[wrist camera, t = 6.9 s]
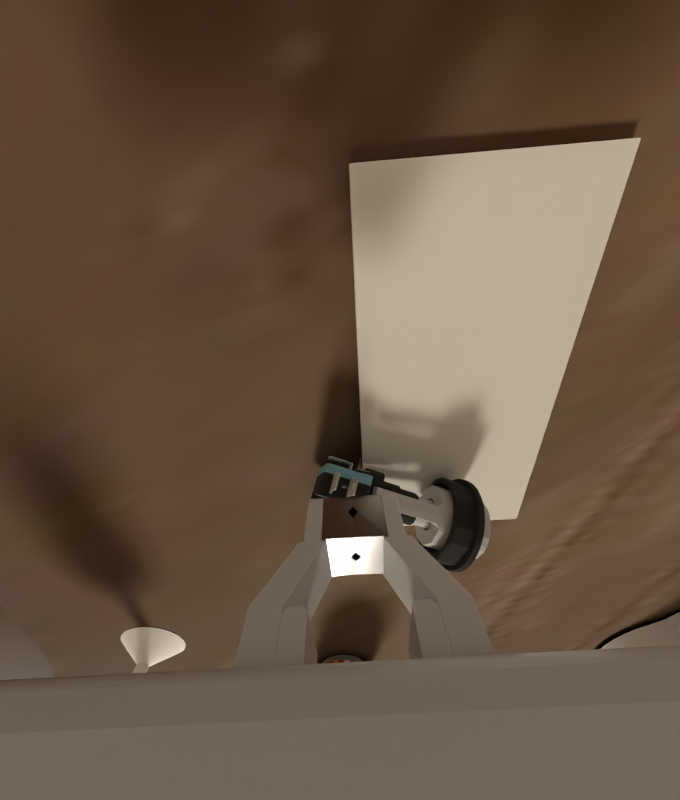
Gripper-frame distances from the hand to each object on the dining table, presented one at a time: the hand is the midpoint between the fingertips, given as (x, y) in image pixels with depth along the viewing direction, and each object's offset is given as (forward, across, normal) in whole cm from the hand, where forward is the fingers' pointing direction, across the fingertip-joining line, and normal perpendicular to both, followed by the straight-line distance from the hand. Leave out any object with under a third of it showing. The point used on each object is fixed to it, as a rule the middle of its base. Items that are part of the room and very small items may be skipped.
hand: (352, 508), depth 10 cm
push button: (+5, +2, +4) cm, 7 cm away
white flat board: (+8, -7, 0) cm, 10 cm away
